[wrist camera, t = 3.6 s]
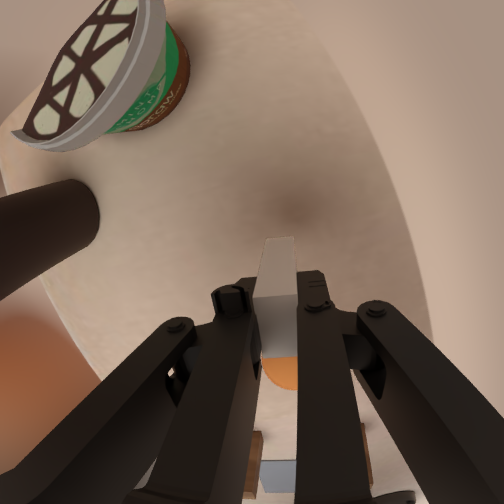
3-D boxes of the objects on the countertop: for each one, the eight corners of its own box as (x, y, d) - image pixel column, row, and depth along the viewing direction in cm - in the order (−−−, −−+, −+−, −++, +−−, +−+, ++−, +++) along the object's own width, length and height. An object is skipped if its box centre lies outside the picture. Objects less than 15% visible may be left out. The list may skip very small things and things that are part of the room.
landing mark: (343, 487, 35) (343, 488, 35) (265, 491, 38) (265, 492, 37) (352, 454, 31) (352, 455, 31) (254, 460, 33) (254, 461, 33)
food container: (139, 177, 21) (55, 200, 12) (94, 135, 21) (7, 140, 11) (240, 56, 17) (204, -7, 8) (184, 20, 17) (125, -39, 7)
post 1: (263, 441, 31) (255, 499, 23) (243, 441, 31) (232, 497, 23) (260, 431, 30) (252, 492, 22) (240, 430, 31) (228, 490, 22)
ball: (326, 358, 25) (331, 400, 20) (268, 362, 26) (263, 404, 21) (325, 308, 23) (333, 349, 18) (260, 314, 24) (253, 355, 19)
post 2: (361, 433, 29) (369, 491, 21) (341, 436, 29) (346, 495, 21) (363, 423, 28) (373, 483, 20) (342, 426, 29) (349, 487, 20)
